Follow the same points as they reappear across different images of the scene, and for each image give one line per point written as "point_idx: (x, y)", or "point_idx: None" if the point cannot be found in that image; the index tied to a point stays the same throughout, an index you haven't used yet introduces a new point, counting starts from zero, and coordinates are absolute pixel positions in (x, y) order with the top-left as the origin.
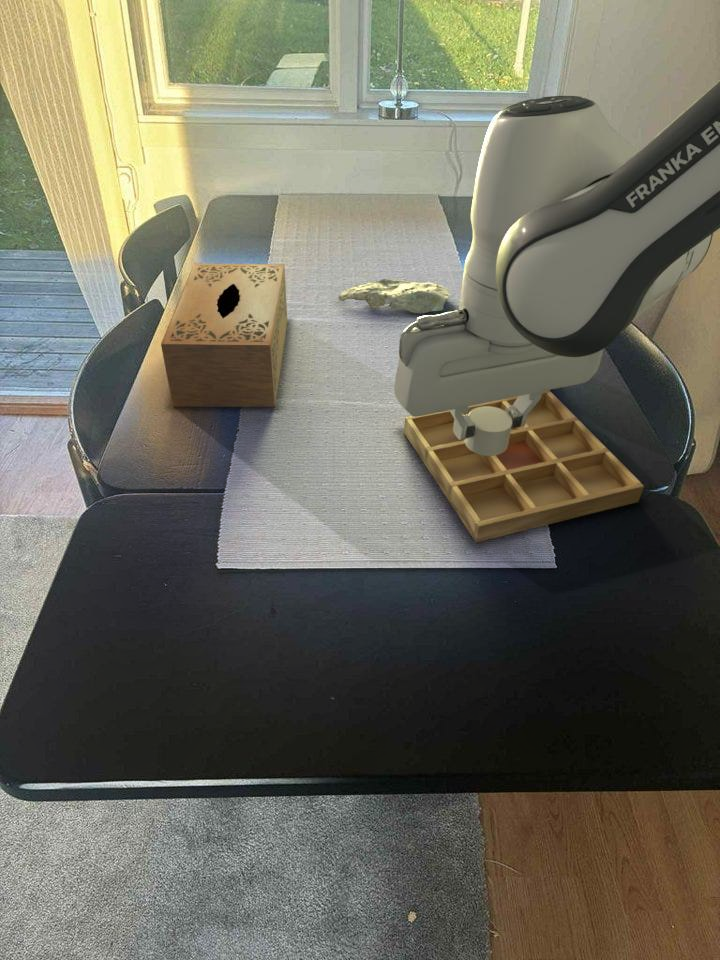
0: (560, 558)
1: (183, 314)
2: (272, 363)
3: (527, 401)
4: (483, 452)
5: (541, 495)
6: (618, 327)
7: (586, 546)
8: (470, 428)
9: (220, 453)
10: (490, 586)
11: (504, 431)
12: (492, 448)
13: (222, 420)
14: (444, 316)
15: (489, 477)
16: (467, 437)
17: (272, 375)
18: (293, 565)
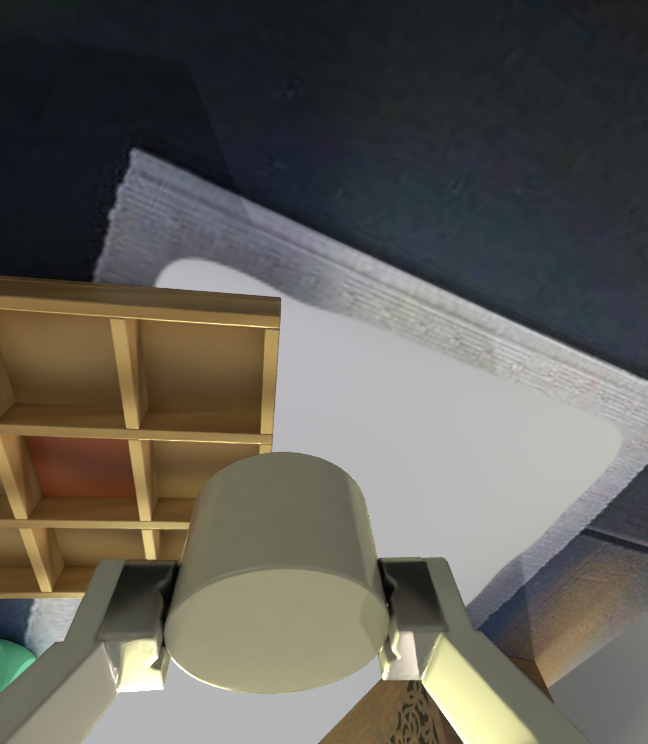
0: (108, 172)
1: None
2: (436, 729)
3: (32, 741)
4: (341, 477)
5: (71, 360)
6: None
7: (19, 179)
8: (422, 612)
9: (538, 587)
10: (319, 167)
11: (260, 561)
12: (311, 484)
13: (496, 633)
14: None
15: (179, 432)
16: (414, 563)
17: (436, 705)
18: (607, 371)
